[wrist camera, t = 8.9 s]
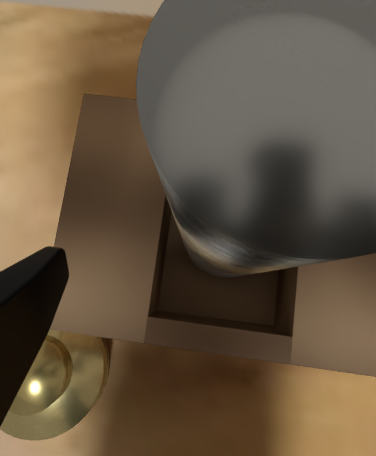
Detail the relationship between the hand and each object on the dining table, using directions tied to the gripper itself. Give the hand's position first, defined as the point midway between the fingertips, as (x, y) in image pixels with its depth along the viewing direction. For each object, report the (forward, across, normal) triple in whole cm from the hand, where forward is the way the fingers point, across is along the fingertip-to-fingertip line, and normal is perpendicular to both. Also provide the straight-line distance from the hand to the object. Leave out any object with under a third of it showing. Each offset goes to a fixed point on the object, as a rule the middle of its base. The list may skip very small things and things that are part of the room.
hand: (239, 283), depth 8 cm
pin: (+7, 0, +4) cm, 8 cm away
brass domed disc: (+3, +8, +10) cm, 13 cm away
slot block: (+8, 0, +4) cm, 9 cm away
